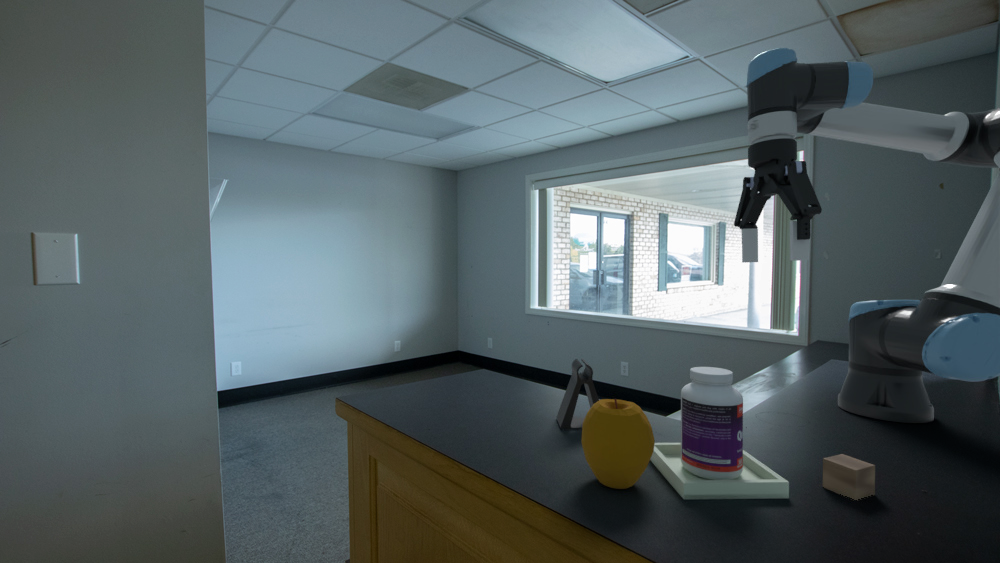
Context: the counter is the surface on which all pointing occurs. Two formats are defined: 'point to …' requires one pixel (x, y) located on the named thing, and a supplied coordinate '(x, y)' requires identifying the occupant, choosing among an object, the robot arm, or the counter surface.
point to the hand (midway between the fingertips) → (772, 261)
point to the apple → (617, 442)
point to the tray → (748, 485)
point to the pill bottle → (712, 425)
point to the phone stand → (576, 396)
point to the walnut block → (849, 476)
